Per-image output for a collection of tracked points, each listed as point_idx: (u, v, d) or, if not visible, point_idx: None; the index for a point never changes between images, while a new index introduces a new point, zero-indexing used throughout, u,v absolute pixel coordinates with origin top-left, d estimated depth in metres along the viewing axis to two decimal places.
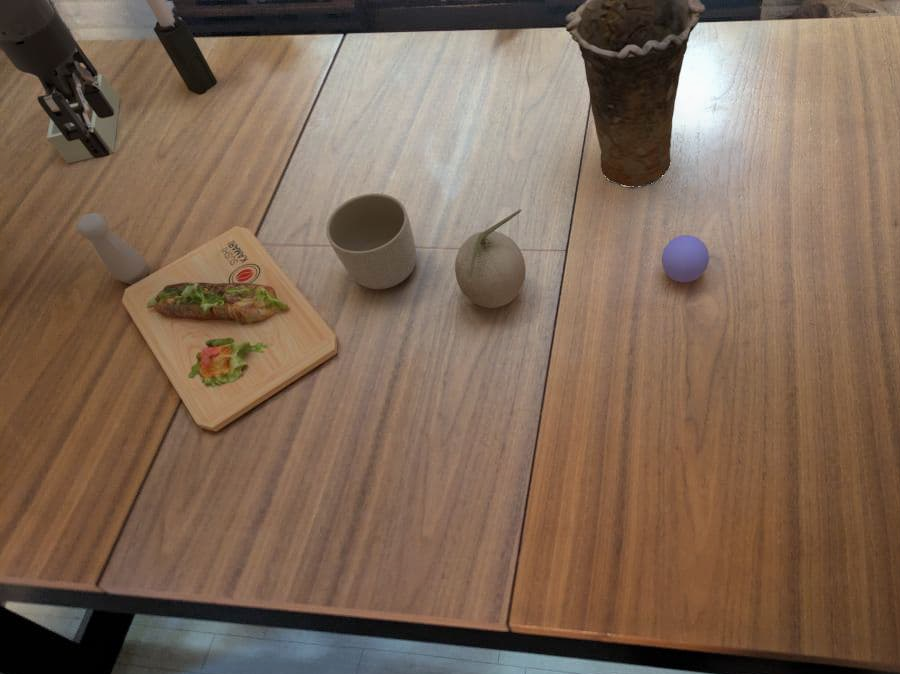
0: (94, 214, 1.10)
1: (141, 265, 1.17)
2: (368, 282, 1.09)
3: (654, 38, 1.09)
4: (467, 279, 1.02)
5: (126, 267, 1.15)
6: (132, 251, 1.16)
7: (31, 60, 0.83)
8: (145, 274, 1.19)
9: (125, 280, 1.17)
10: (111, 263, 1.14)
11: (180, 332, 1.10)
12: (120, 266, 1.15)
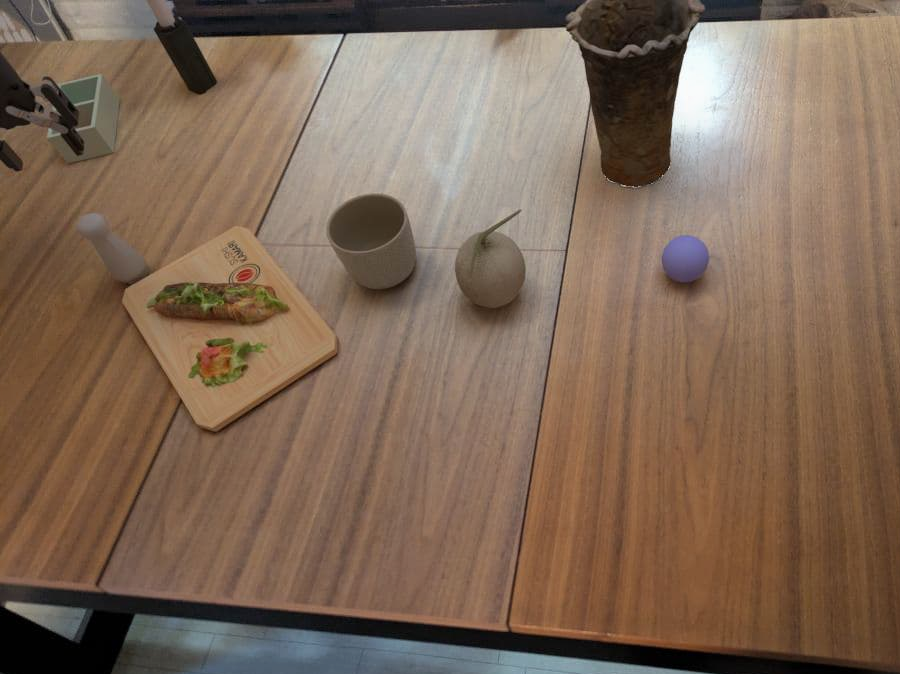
0: (94, 214, 1.10)
1: (141, 265, 1.17)
2: (368, 282, 1.09)
3: (654, 38, 1.09)
4: (467, 279, 1.02)
5: (126, 267, 1.15)
6: (132, 251, 1.16)
7: None
8: (145, 274, 1.19)
9: (125, 280, 1.17)
10: (111, 263, 1.14)
11: (180, 332, 1.10)
12: (120, 266, 1.15)
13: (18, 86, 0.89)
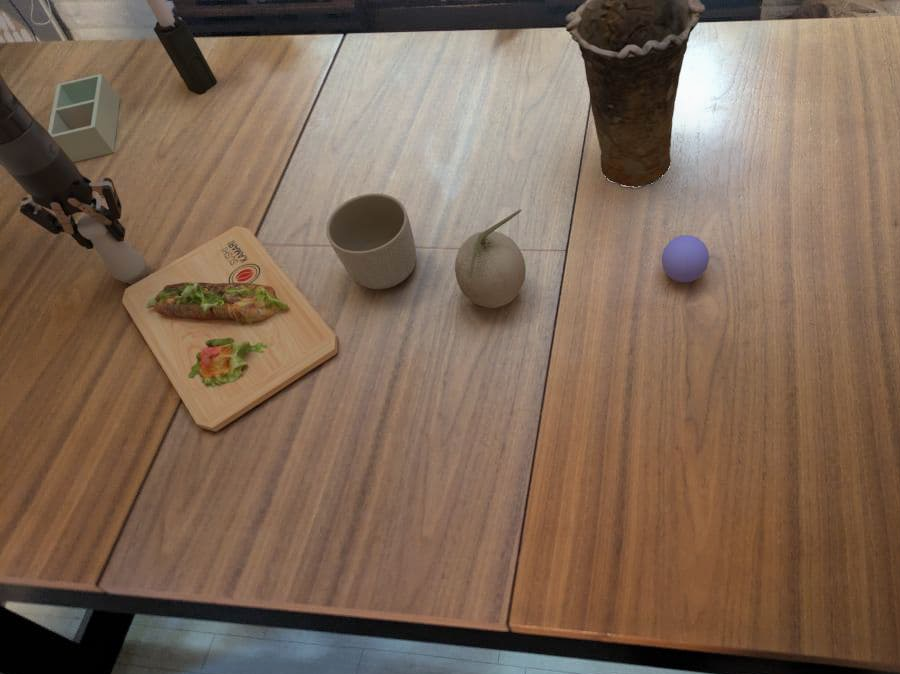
0: None
1: (141, 265, 1.17)
2: (368, 282, 1.09)
3: (654, 38, 1.09)
4: (467, 279, 1.02)
5: (126, 267, 1.15)
6: (132, 251, 1.16)
7: None
8: (145, 274, 1.19)
9: (125, 280, 1.17)
10: (111, 263, 1.14)
11: (180, 332, 1.10)
12: (121, 266, 1.15)
13: (79, 181, 1.03)
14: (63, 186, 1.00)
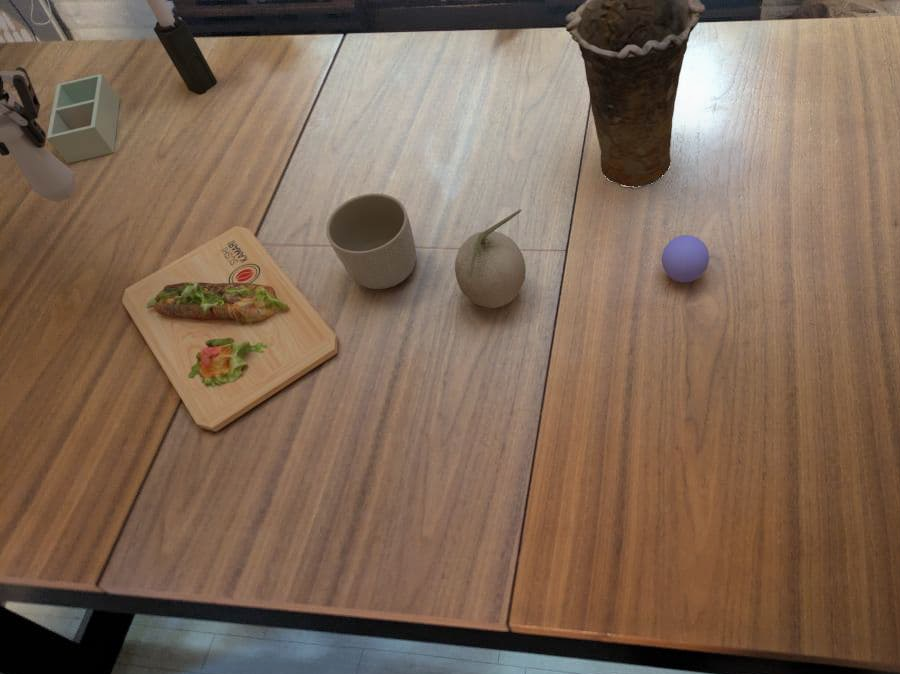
0: None
1: (66, 179, 1.03)
2: (368, 282, 1.09)
3: (654, 38, 1.09)
4: (467, 279, 1.02)
5: (48, 179, 1.01)
6: (56, 162, 1.02)
7: None
8: (72, 191, 1.05)
9: (48, 195, 1.03)
10: (31, 174, 1.00)
11: (180, 332, 1.10)
12: (42, 178, 1.01)
13: None
14: None
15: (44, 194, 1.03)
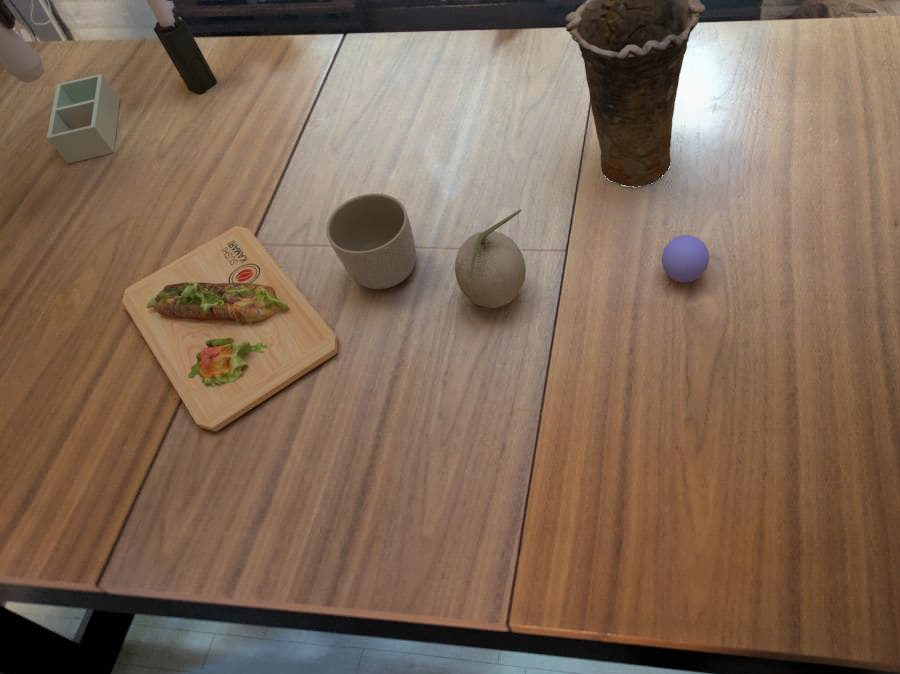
0: None
1: (34, 60, 1.20)
2: (368, 282, 1.09)
3: (654, 38, 1.09)
4: (467, 279, 1.02)
5: (17, 58, 1.18)
6: (25, 44, 1.18)
7: None
8: (40, 72, 1.22)
9: (18, 74, 1.19)
10: (2, 53, 1.17)
11: (180, 332, 1.10)
12: (12, 57, 1.17)
13: None
14: None
15: (15, 73, 1.19)
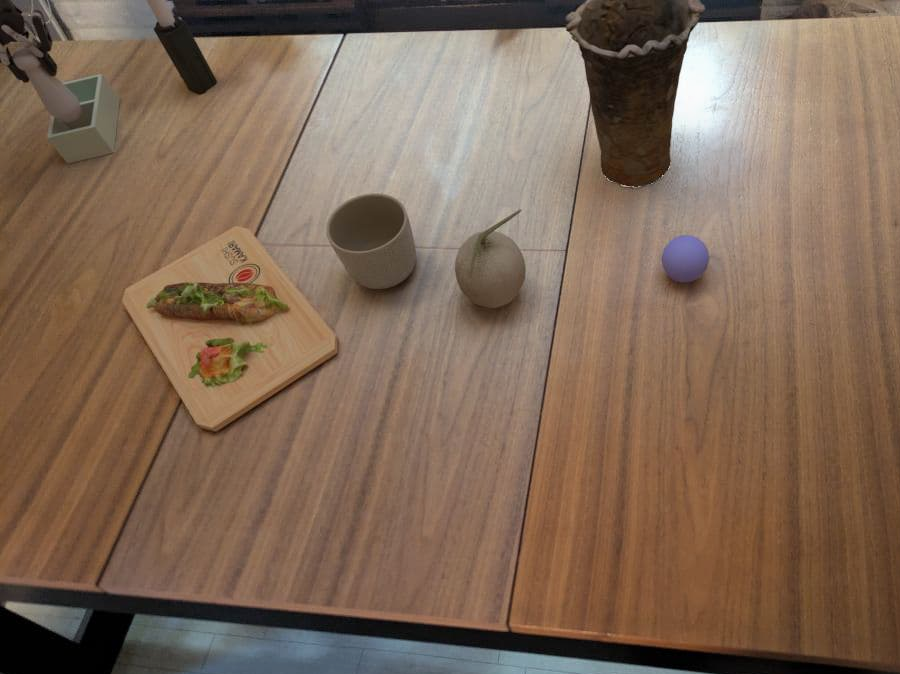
0: None
1: (73, 103, 1.32)
2: (368, 282, 1.09)
3: (654, 38, 1.09)
4: (467, 279, 1.02)
5: (59, 101, 1.30)
6: (65, 88, 1.31)
7: None
8: (78, 113, 1.34)
9: (59, 115, 1.32)
10: (46, 97, 1.29)
11: (180, 332, 1.10)
12: (54, 100, 1.30)
13: (11, 9, 1.17)
14: None
15: (56, 114, 1.31)
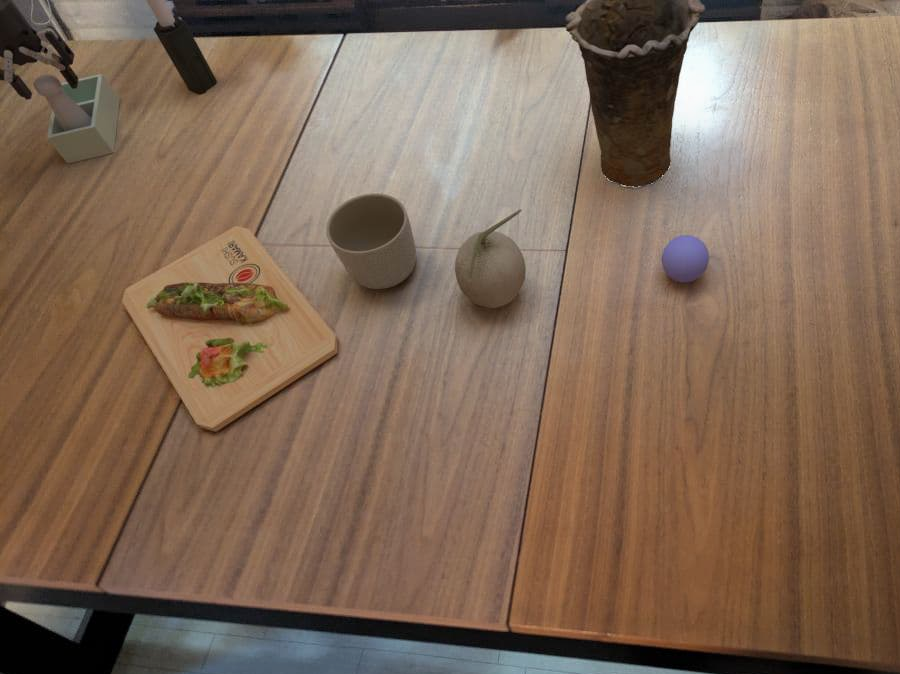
0: (49, 74, 1.29)
1: None
2: (368, 282, 1.09)
3: (654, 38, 1.09)
4: (467, 279, 1.02)
5: (78, 126, 1.34)
6: (83, 113, 1.35)
7: None
8: None
9: None
10: (65, 122, 1.33)
11: (180, 332, 1.10)
12: (73, 125, 1.34)
13: (28, 32, 1.20)
14: (14, 33, 1.18)
15: None
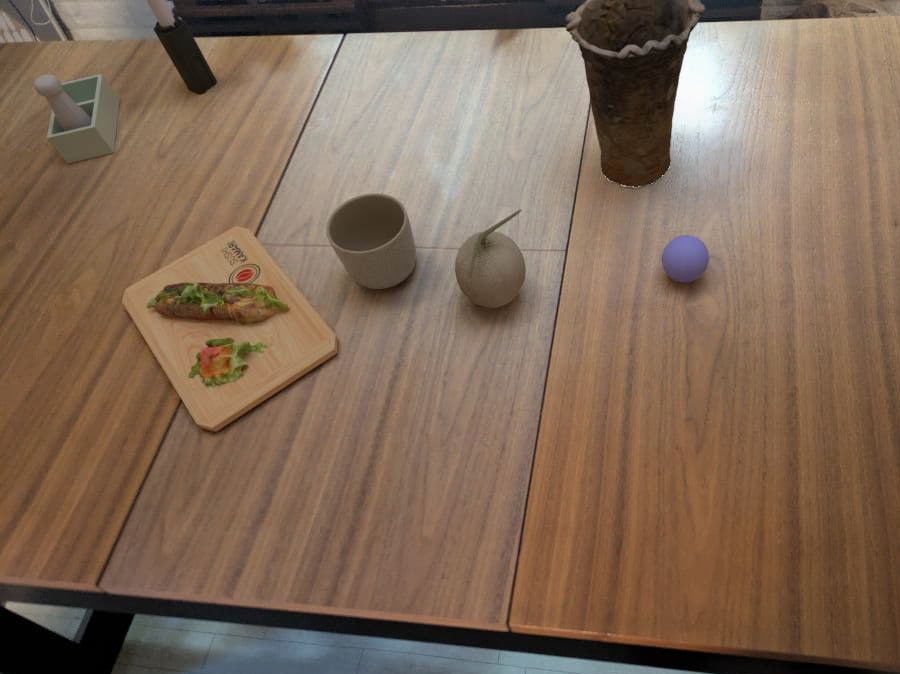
0: (49, 74, 1.29)
1: None
2: (368, 282, 1.09)
3: (654, 38, 1.09)
4: (467, 279, 1.02)
5: (78, 126, 1.34)
6: (83, 113, 1.35)
7: None
8: None
9: None
10: (65, 122, 1.33)
11: (180, 332, 1.10)
12: (73, 125, 1.34)
13: None
14: None
15: None
